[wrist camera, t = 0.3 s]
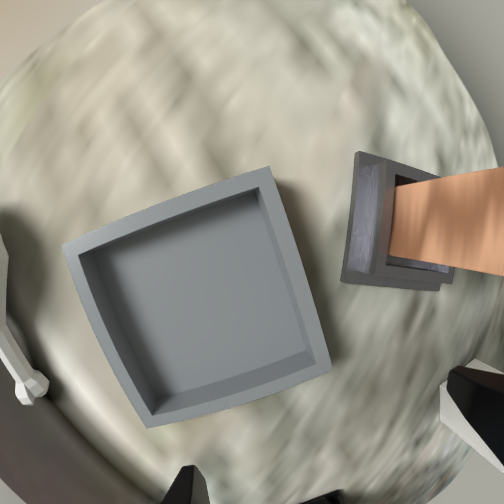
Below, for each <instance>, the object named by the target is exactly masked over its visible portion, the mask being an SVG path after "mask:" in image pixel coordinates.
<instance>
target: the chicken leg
mask: <svg viewBox="0 0 504 504" xmlns="http://www.w3.org/2000/svg"><path fill="white" fill-rule="evenodd" d="M8 260H9V256H8V253H7V251H6V248H5V246H4V243H3V240H2V237H1V234H0V358H1V360H2V361H3V363H4V364H5V366H6V367H7V369H8V371H9V372H10V374H11V375H12V377H13V378H14V379H15V381H16V388H15V394H16V396H17V398H18V399H19V400H20V402H21V403H22V404H23V405H34V400H35V397H42V396H43V395H45V394H46V392H47V390H48V386H49V380H48V379H47V378H46V377H45V376H44V375H43V374H42V373H41V372H40V371H37V370H34V369H32V367H31V366H30V364H29V363H28V361H27V360H26V358H25V356H24V355H23V353H22V352H21V350H20V348H19V347H18V345H17V343H16V341H15V340H14V338H13V336H12V334H11V333H10V331H9V329H8V327H7V325H6V287H7V271H8Z"/></svg>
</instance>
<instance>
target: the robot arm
mask: <svg viewBox="0 0 504 504" xmlns="http://www.w3.org/2000/svg"><path fill="white" fill-rule="evenodd" d="M446 389H447V392H448V394H449V395H450V397H451V398H452V400H453V401H454V403H455V404H456V406H457V407H458V409H459V410H460V412H461V413H462V415H463V416H464V418H465V419H466V420H467V422H468V423H469V424H470V425H471V427H472V428H473V429H474V430H475V431H476V433H477V434H478V435H479V436H480V438H481V439H482V440H483V441H484V442H485V444H486V445H487V446H488V447H489V449H490V450H491V451H492V452H493V454H494V455H495V456H496V457H497V459H498V460H499V461H500V462H501V464H502V465H503V466H504V374H499V373H494V372H489V371H483V370H478V369H473V368H468V367H464V366H456V367H455V368H453V369H452V370H450V372H449V374H448V380H447V385H446ZM161 504H210V501H209V496H208V491H207V485H206V481H205V478H204V477H203V475H202V474H201V472H200V471H199V470H198V468H197V467H196V466H195V465H189V466H183V467H182V468H181V469H180V471H179V473H178V475H177V476H176V478H175V480H174V482H173V483H172V485H171V487H170V489H169V490H168V492H167V494H166V495H165V497H164V499H163V501H162V502H161ZM302 504H344V501H343V497H342V494H341V492H340V491H335V492H332V493H330V494H327V495H325V496H322V497H319V498H317V499H314V500H311V501H308V502H305V503H302Z"/></svg>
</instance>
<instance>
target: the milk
mask: <svg viewBox="0 0 504 504" xmlns="http://www.w3.org/2000/svg"><path fill="white" fill-rule="evenodd" d="M464 367H468V368H473V369H478V370H483V371H489V372H494V373H499V374H504V373H503V372H501V371H499V370H497V369H495V368H493V367H491V366H489V365H487V364H485V363H483V362H481V361H479V360H477V359H475V358H474V359H473V360H472V361H471V362H469V363H468V364H467V365H466V366H464ZM446 385H447V380H446V381H445V382H443V383H442V384H441V385H440V420H441V421H442V422H443V423H444V424H445V425H446V426H448V427H449V428H450V429H451V430H452V431H454V432H455V433H456V434H457V435H458V436H459V437H461V438H462V439H463V440H464V441H465V442H467V443H468V444H469V445H470V446H471V447H472V448H474V449H475V450H476V451H477V452H479V453H480V454H481V455H482V456H483V457H484V458H486V459H487V460H488V461H489V462H490V463H492V464H493V465H494V466H495V467H496V468H497V469H499V470H500V471H501V472H502V473H503V474H504V466H503V465H502V464H501V462H500V461H499V460H498V459H497V457H496V456H495V455H494V454H493V452H492V451H491V450H490V449H489V447H488V446H487V445H486V444H485V442H484V441H483V440H482V439H481V438H480V436H479V435H478V434H477V433H476V431H475V430H474V429H473V428H472V427H471V425H470V424H469V423H468V422H467V420H466V419H465V418H464V416H463V415H462V413H461V412H460V410H459V409H458V407H457V406H456V404H455V403H454V401H453V400H452V398H451V397H450V395H449V394H448V392H447V389H446Z"/></svg>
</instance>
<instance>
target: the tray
mask: <svg viewBox="0 0 504 504" xmlns="http://www.w3.org/2000/svg"><path fill="white" fill-rule="evenodd" d="M61 246H62V249H63V252H64V255H65V258H66V262H67V265H68V268H69V270H70V273H71V276H72V279H73V282H74V285H75V287H76V290H77V293H78V295H79V298H80V300H81V303H82V305H83V308H84V310H85V313H86V315H87V317H88V320H89V322H90V324H91V327H92V329H93V331H94V333H95V335H96V338H97V340H98V342H99V344H100V346H101V348H102V350H103V352H104V354H105V356H106V358H107V360H108V362H109V364H110V366H111V368H112V370H113V372H114V374H115V376H116V378H117V379H118V381H119V383H120V385H121V387H122V388H123V390H124V392H125V394H126V395H127V397H128V399H129V401H130V402H131V404H132V406H133V407H134V409H135V411H136V412H137V414H138V415H139V417H140V419H141V420H142V422H143V423H144V425H145V426H146V428H151V427H156V426H161V425H166V424H170V423H175V422H179V421H183V420H188V419H192V418H196V417H199V416H203V415H207V414H211V413H214V412H218V411H221V410H225V409H228V408H231V407H235V406H238V405H241V404H244V403H247V402H250V401H253V400H256V399H259V398H262V397H265V396H268V395H271V394H273V393H276V392H279V391H282V390H284V389H287V388H290V387H292V386H295V385H297V384H300V383H302V382H305V381H307V380H310V379H312V378H315V377H317V376H319V375H322V374H324V373H326V372H329V371H331V370H333V367H332V364H331V360H330V356H329V353H328V349H327V345H326V342H325V338H324V335H323V331H322V328H321V324H320V321H319V317H318V314H317V311H316V307H315V304H314V300H313V297H312V294H311V291H310V287H309V284H308V281H307V277H306V274H305V271H304V268H303V265H302V261H301V258H300V255H299V252H298V249H297V246H296V243H295V240H294V237H293V234H292V231H291V227H290V224H289V221H288V218H287V215H286V212H285V210H284V207H283V204H282V201H281V198H280V195H279V192H278V189H277V186H276V183H275V181H274V178H273V175H272V172H271V169H270V166H267V167H264V168H261V169H258V170H254V171H251V172H248V173H245V174H242V175H239V176H236V177H232V178H229V179H226V180H223V181H220V182H217V183H215V184H212V185H209V186H206V187H203V188H200V189H197V190H194V191H192V192H189V193H186V194H183V195H181V196H178V197H175V198H173V199H170V200H167V201H165V202H162V203H159V204H157V205H154V206H152V207H149V208H146V209H144V210H141V211H139V212H136V213H134V214H131V215H129V216H127V217H124V218H122V219H119V220H117V221H115V222H112V223H110V224H108V225H105V226H103V227H101V228H98V229H96V230H94V231H91V232H89V233H87V234H85V235H83V236H80V237H78V238H76V239H74V240H72V241H69V242H67V243H65V244H63V245H61Z"/></svg>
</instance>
